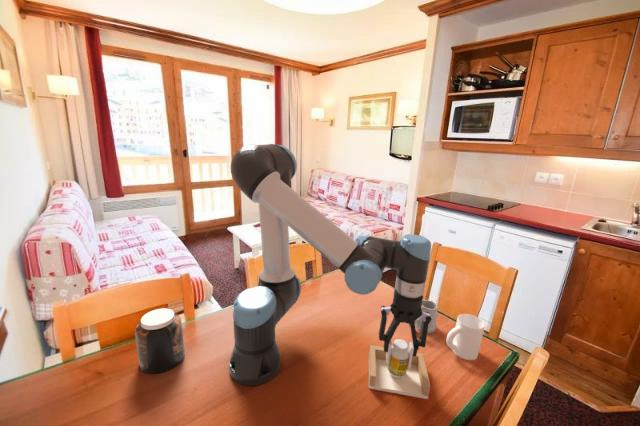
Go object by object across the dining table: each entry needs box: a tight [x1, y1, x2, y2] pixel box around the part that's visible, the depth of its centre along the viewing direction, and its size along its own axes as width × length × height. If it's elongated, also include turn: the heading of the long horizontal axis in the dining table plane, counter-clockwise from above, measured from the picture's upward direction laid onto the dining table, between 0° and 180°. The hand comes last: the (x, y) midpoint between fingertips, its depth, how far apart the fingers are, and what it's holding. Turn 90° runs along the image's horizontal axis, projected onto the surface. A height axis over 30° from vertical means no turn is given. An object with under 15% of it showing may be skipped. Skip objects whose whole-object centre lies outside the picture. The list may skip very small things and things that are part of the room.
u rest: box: [368, 344, 431, 400], centre depth 83 cm, size 16×12×4 cm
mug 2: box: [445, 313, 486, 361], centre depth 93 cm, size 8×12×12 cm
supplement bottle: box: [388, 338, 409, 378], centre depth 82 cm, size 5×5×10 cm
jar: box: [134, 307, 185, 375], centre depth 84 cm, size 12×12×15 cm
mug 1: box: [408, 299, 439, 334], centre depth 105 cm, size 8×12×12 cm, turn 105°
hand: (398, 361), depth 83 cm, fingers closed on supplement bottle, 5 cm apart
